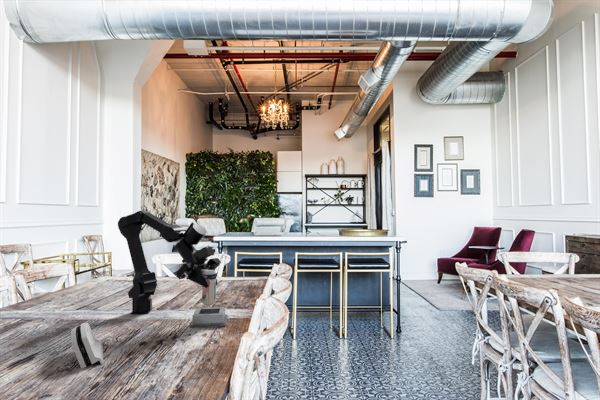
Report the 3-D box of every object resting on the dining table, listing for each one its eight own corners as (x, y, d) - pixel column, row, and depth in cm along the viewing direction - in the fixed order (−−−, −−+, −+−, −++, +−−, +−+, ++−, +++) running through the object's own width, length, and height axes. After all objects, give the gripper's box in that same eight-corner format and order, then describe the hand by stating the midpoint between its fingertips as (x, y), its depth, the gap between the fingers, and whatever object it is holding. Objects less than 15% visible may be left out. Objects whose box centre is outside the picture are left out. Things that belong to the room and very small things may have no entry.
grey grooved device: (103, 364, 98) (88, 330, 97) (83, 374, 96) (68, 339, 95) (102, 345, 113) (90, 314, 112) (85, 353, 111) (72, 322, 110)
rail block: (189, 328, 129) (189, 316, 129) (194, 318, 141) (194, 307, 141) (225, 326, 131) (225, 314, 131) (227, 317, 143) (227, 306, 143)
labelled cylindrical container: (200, 303, 137) (201, 270, 137) (213, 301, 139) (213, 269, 140) (204, 306, 133) (204, 271, 133) (217, 304, 135) (217, 270, 135)
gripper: (183, 240, 130) (208, 275, 125) (217, 237, 147) (240, 267, 142) (165, 261, 133) (189, 296, 128) (201, 256, 150) (223, 286, 145)
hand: (212, 285), depth 136 cm, fingers closed on labelled cylindrical container, 5 cm apart
